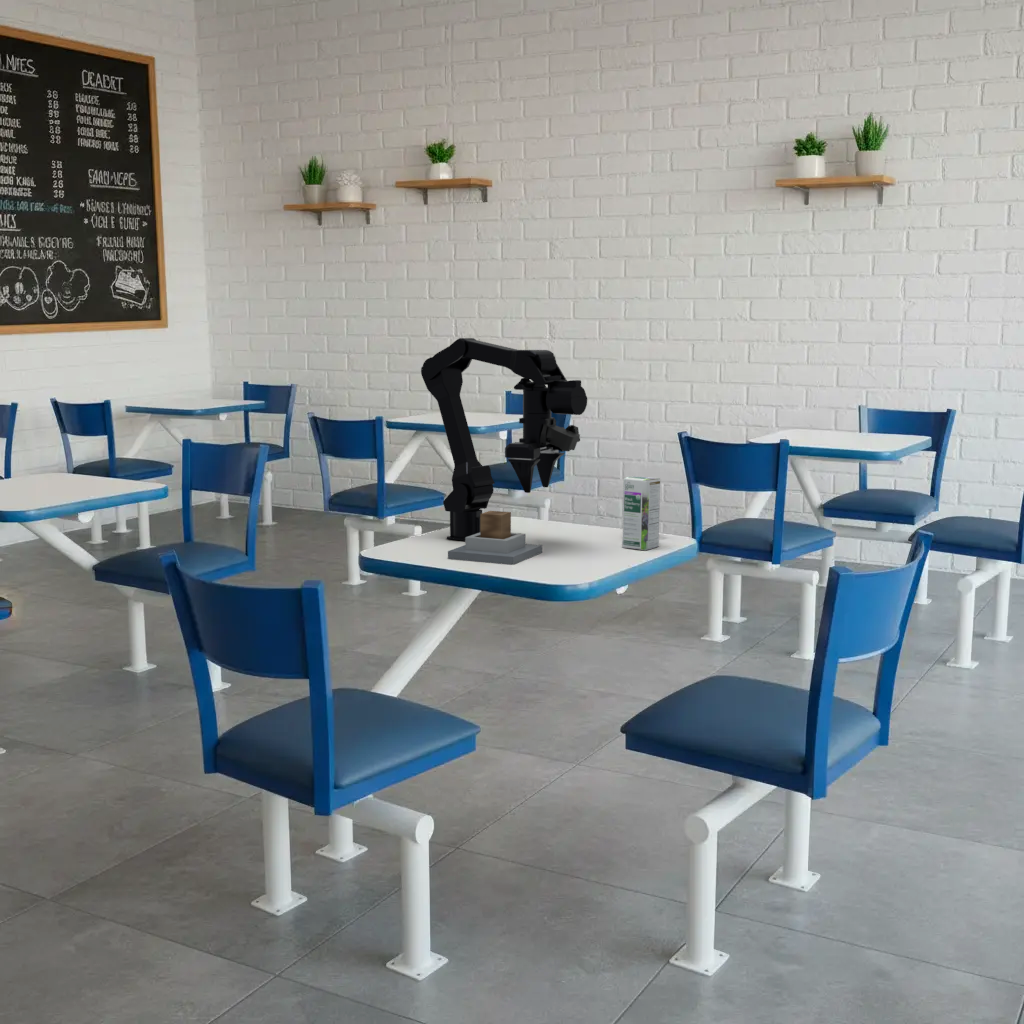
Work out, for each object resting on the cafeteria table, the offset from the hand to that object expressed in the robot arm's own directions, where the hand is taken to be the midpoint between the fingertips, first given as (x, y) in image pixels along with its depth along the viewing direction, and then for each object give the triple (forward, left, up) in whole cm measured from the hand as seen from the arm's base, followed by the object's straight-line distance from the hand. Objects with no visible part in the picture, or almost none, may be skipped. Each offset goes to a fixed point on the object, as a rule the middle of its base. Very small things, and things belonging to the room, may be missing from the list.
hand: (536, 489), depth 247 cm
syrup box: (+19, +10, -12) cm, 25 cm away
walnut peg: (-4, -11, -10) cm, 16 cm away
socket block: (-4, -11, -12) cm, 17 cm away
